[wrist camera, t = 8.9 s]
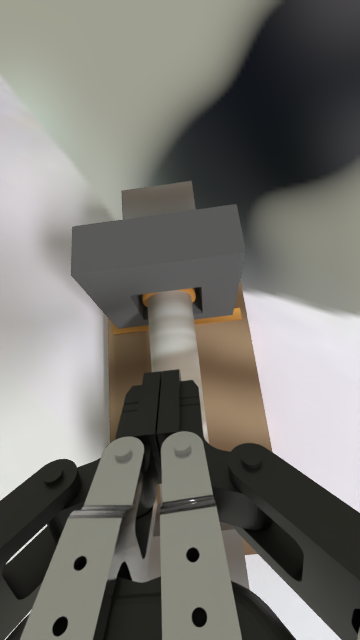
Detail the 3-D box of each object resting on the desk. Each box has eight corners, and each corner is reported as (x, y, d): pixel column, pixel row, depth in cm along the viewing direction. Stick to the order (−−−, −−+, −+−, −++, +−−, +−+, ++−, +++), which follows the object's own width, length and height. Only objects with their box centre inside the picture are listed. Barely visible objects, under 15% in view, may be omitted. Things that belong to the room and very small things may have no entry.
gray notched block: (232, 314, 24) (246, 252, 16) (118, 328, 24) (70, 275, 16) (226, 280, 25) (236, 204, 17) (116, 294, 25) (72, 226, 17)
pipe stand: (286, 544, 22) (336, 617, 13) (117, 559, 22) (62, 638, 14) (230, 241, 30) (240, 168, 22) (110, 257, 31) (73, 192, 22)
